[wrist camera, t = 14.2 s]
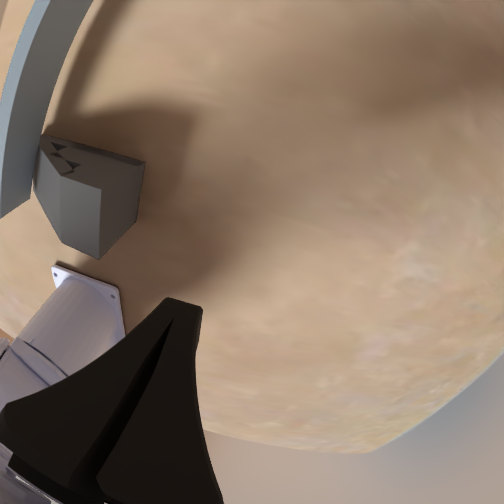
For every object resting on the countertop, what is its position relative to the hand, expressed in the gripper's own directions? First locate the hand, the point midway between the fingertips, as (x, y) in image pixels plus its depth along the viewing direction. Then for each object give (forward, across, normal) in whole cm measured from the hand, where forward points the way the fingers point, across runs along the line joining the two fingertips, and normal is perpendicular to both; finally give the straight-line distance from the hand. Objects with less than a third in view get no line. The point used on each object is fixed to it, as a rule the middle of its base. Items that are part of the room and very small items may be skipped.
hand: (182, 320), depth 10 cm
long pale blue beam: (+7, +13, -8) cm, 17 cm away
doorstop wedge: (+9, +11, 0) cm, 15 cm away
